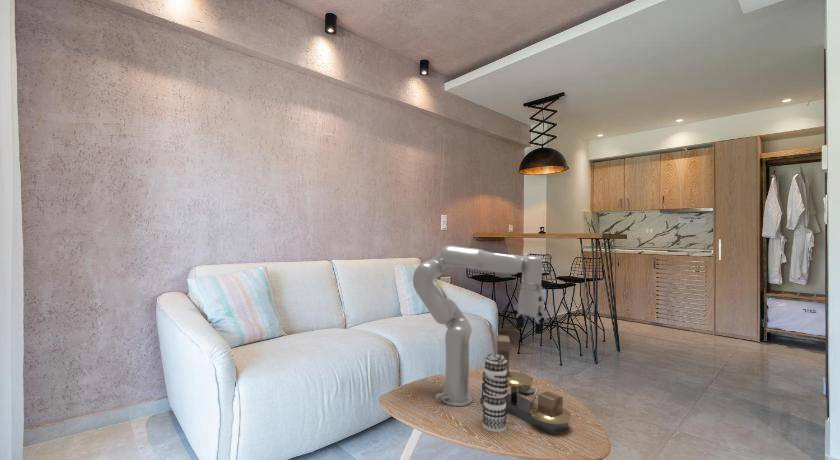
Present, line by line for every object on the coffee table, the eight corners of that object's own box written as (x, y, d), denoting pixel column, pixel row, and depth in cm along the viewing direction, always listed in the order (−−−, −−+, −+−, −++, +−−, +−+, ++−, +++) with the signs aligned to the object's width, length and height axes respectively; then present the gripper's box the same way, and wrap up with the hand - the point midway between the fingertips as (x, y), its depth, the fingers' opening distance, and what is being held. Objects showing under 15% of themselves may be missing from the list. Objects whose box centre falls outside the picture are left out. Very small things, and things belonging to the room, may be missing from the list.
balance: (553, 440, 128) (554, 404, 128) (488, 405, 153) (489, 375, 154) (578, 429, 135) (579, 395, 136) (512, 398, 161) (513, 369, 161)
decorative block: (509, 385, 175) (510, 341, 175) (496, 384, 176) (497, 340, 177) (508, 376, 186) (509, 335, 186) (496, 375, 187) (497, 334, 187)
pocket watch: (532, 389, 171) (532, 366, 172) (536, 396, 163) (536, 373, 163) (513, 388, 172) (514, 365, 172) (516, 395, 164) (517, 372, 164)
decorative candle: (509, 423, 139) (511, 353, 140) (504, 434, 131) (506, 361, 131) (485, 417, 143) (486, 350, 143) (478, 428, 134) (480, 357, 135)
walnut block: (551, 417, 133) (552, 400, 133) (537, 410, 138) (538, 394, 138) (562, 413, 137) (562, 396, 137) (548, 407, 142) (548, 390, 142)
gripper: (555, 290, 146) (553, 335, 146) (521, 284, 161) (519, 324, 161) (541, 291, 142) (539, 336, 142) (508, 284, 157) (506, 326, 157)
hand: (528, 330), depth 152 cm, fingers open, 9 cm apart
